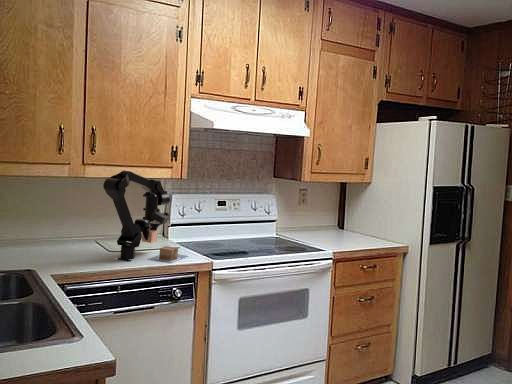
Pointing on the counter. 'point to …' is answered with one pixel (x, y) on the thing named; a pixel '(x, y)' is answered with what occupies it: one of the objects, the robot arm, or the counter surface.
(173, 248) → the walnut block
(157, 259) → the board
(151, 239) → the terracotta cube
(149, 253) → the counter surface
